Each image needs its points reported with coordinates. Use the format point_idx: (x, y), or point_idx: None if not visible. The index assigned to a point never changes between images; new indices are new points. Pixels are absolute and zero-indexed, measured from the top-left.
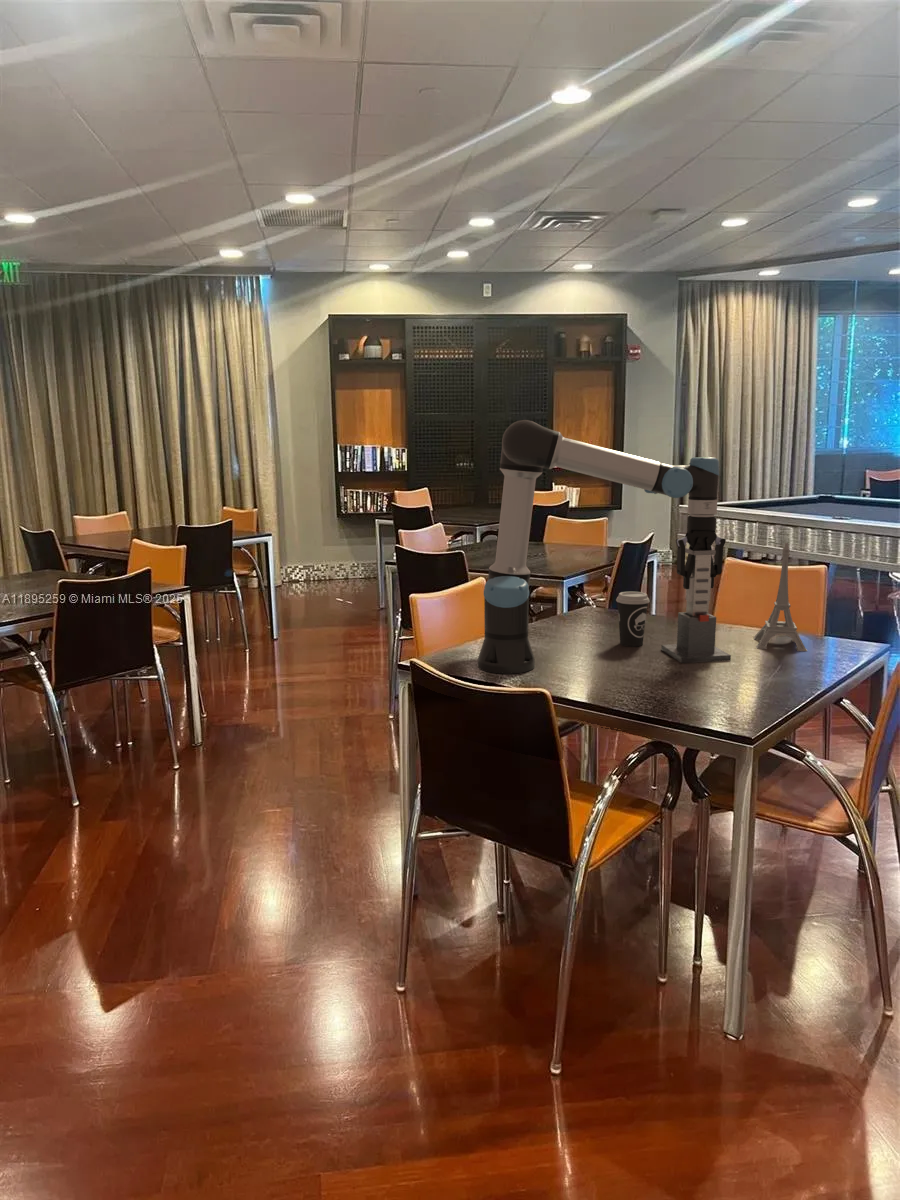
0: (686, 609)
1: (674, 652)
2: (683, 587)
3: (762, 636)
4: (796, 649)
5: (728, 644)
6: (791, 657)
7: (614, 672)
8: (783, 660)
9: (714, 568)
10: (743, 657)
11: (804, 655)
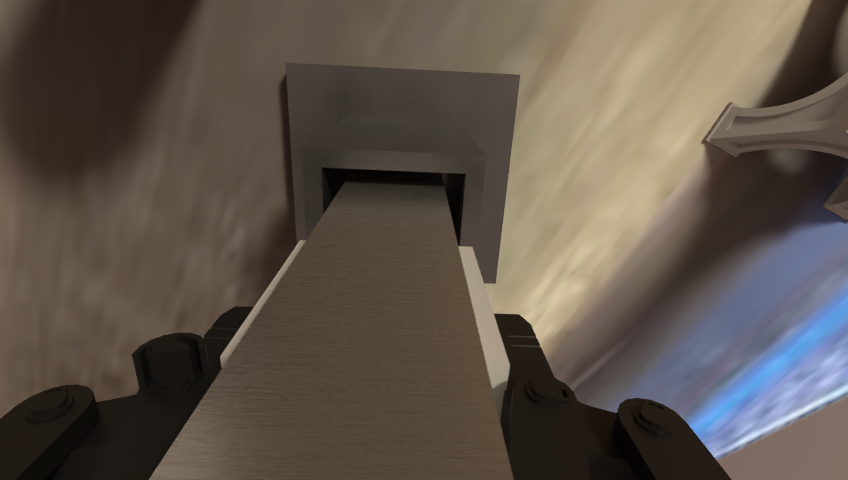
0: (336, 196)
1: (298, 203)
2: (229, 310)
3: (793, 103)
4: (837, 188)
5: (640, 36)
6: (724, 280)
7: (39, 320)
8: (668, 306)
9: (636, 476)
10: (563, 245)
11: (789, 266)
